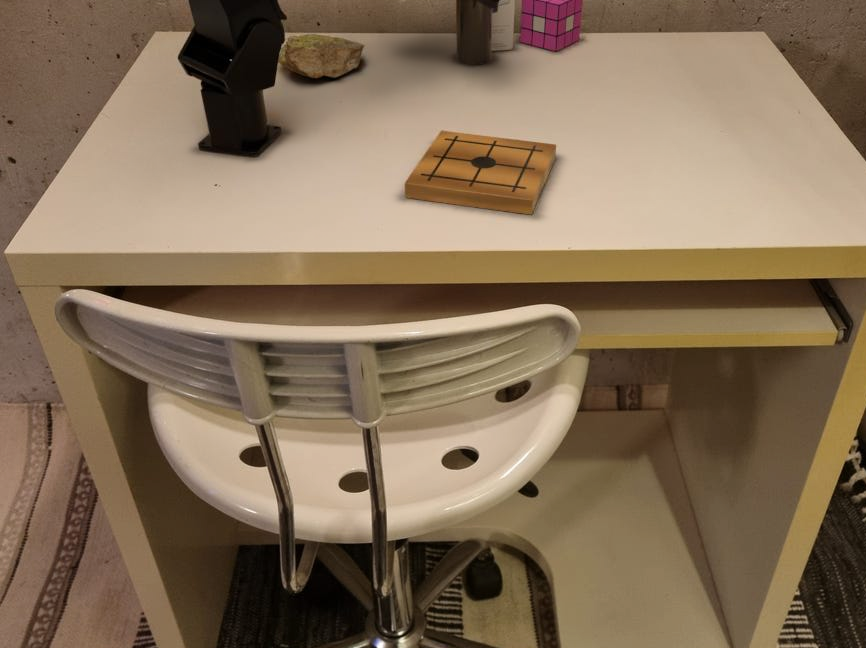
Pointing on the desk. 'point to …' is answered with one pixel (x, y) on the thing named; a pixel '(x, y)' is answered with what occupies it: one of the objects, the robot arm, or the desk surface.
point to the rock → (320, 55)
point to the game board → (482, 172)
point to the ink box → (503, 25)
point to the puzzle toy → (550, 23)
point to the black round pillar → (473, 32)
